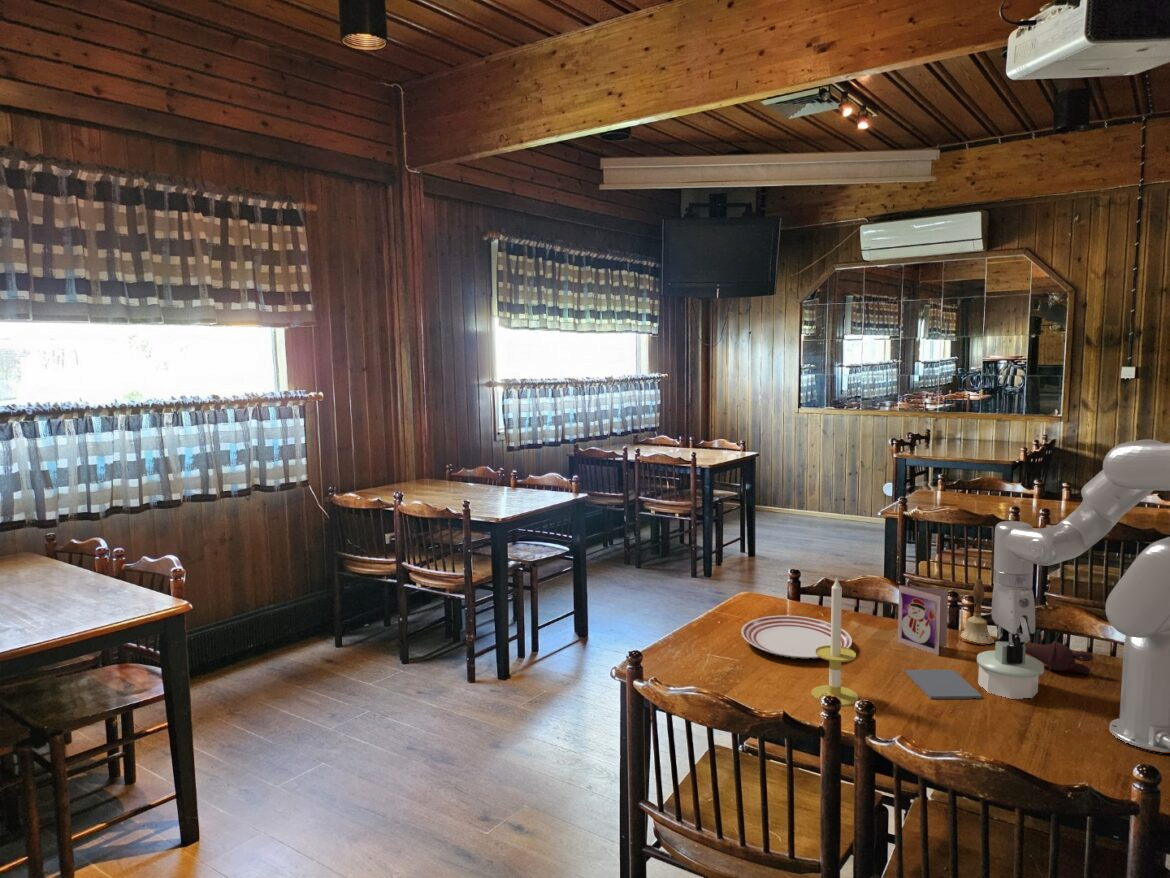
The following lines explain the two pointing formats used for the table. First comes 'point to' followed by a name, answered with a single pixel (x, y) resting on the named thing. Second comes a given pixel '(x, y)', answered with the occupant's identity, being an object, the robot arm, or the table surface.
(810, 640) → the dinner plate
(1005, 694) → the bowl
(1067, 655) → the icecream
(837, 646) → the candle
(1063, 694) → the table surface
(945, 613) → the greeting card
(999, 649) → the lid
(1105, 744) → the table surface
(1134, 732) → the robot arm
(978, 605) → the hand bell
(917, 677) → the mat
